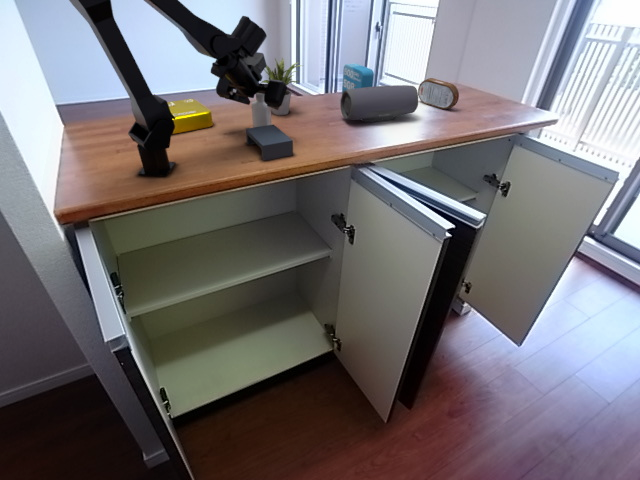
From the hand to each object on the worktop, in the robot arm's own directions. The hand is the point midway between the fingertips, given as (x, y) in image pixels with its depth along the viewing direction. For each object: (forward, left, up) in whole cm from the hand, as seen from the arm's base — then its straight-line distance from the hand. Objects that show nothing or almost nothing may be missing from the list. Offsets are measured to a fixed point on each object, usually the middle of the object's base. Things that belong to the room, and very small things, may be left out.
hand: (263, 105), depth 104 cm
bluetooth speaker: (+12, -34, -7) cm, 37 cm away
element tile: (+2, +25, -7) cm, 26 cm away
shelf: (-14, -3, -7) cm, 16 cm away
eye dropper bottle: (-1, +1, -7) cm, 7 cm away
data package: (+27, -28, -7) cm, 40 cm away
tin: (+28, -56, -7) cm, 63 cm away
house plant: (+14, -4, -7) cm, 16 cm away
